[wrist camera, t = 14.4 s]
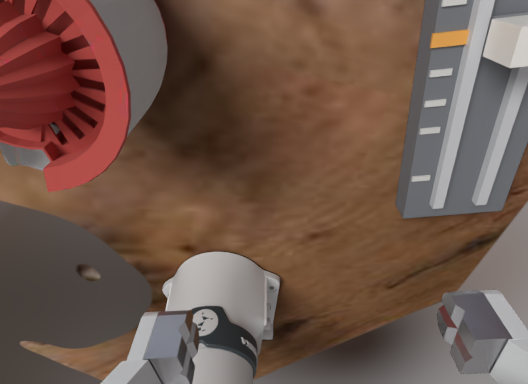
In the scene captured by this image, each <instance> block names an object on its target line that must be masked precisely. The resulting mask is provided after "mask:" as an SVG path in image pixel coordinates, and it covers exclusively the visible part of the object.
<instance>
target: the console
mask: <svg viewBox="0 0 528 384" xmlns="http://www.w3.org/2000/svg"><path fill="white" fill-rule="evenodd" d="M525 12H528V0H425V7H424V14H423V20H422V27H421V34H420V41H419V48H418V55H417V61H416V68H415V75H414V82H413V89H412V96H411V102H410V109H409V116H408V123H407V130H406V137H405V143H404V150H403V157H402V164H401V171H400V178H399V184H398V191H397V198H396V206H397V208H398V210H399V212H400V214H401V215H402V217H403V219H404V218H416V217H429V216H441V215H454V214H466V213H479V212H491V211H502V209H503V206H504V203H505V201H506V198H507V195H508V193H509V190H510V187H511V185H512V182H513V179H514V177H515V174H516V171H517V169H518V166H519V163H520V161H521V158H522V155H523V153H524V150H525V148H526V145H527V142H528V66H525V67H516V68H508V67H506V66H503V65H501V64H499V63H497V62H494V61H492V60H490V59H488V58H485V57H483V53H482V50H483V46H484V42H485V38H486V34H487V30H488V26H489V22H490V18H491V16H499V15H507V14H516V13H525Z"/></svg>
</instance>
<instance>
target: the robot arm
mask: <svg viewBox="0 0 528 384" xmlns="http://www.w3.org/2000/svg"><path fill="white" fill-rule="evenodd" d="M279 286H280V278H279V276H277V275H276V274H273V273H271V272H268V271H265V270H263V269H261V268H260V267H259V266H257V265H256V264H255V263H254V262H252V261H251V260H249V259H247V258H245V257H243V256H240V255H237V254H233V253H228V252H208V253H203V254H199V255H196V256H194V257H192V258H190V259H188V260H187V261H185V262H184V263H183V264H182V265H181V266H180V268H179V269H178V271H177V273H176V274H175V276H174V277H173V278H171V279H169V280H168V281H166V282H165V283H164V285H163V293H164V294H165V296H166V297H167V298H168V301H167V306H166V311H158V312H145V313H144V315H143V316H142V318H141V321H140V323H139V326H138V329H137V332H136V335H135V338H134V341H133V343H132V346H131V349H130V352H129V355H128V358H127V361H122V362H121V363H120V364H119V365H118V366H117V367H116V368H115V369H114V370H113V371H112V372H111V373H110V374H109V375H108V376H107V377H106V378H105V379H104V380H103V381H102V383H100V384H253V378H254V376H255V374H256V368H257V364H258V355H259V354H260V350H261V344H262V340H263V339H264V340H265V339H266V340H271V339H273V321H274V315H275V309H276V303H277V297H278V292H279ZM442 302H443V304H444V305H443V306H442V307H441V308H439V310H438V314H437V320H438V326H439V329H440V332H441V334H442V336H443V338H444V339H445V340H446V341H447V342H448V343H450V344H451V345H452V347H451V351H450V354H451V356H452V357H453V360H454V362H455V364H456V366H457V368H458V370H459V372H460V374H473V373H474V374H477V373H490V376H491V377H493V378H494V379H495V380H496V381H497V382H498V383H499V384H528V330H527V328H526V327H525V326H524V324H523V323H522V321H521V320H520V319H519V317H518V316H517V315H516V313H515V312H514V310H513V309H512V307H511V306H510V305H509V303H508V302H507V301H506V299H505V298H504V296H503V295H502V294H501V292H499V291H498V290H496V289H492V290H481V291H478V290H473V291H460V292H448V293H445V294H444V295H443V297H442Z"/></svg>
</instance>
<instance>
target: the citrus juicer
mask: <svg viewBox="0 0 528 384" xmlns="http://www.w3.org/2000/svg"><path fill="white" fill-rule="evenodd" d="M167 46H168V40H167V33H166V26H165V23H164V20H163V17H162V14H161V11H160V8H159V6H158V4H157V3H156V1H155V0H0V149H1V151H2V154H3V156H4V158H5V160H6V162H7V163H8V164H9V165H11V166H15V165H25V166H29V167H32V168H36V169H39V170H43V171H44V175H45V179H46V184H47V188H48V192H51V191H58V190H64V189H70V188H73V187H76V186H78V185H81V184H84V183H86V182H89V181H91V180H92V179H94V178H95V177H97V176H98V175H100V174H101V173H103V172H104V171H106V169H107V168H108V167H109V166H110V165H111V164H112V163H113V161H114V160H115V159H116V158H117V157H118V155H119V153H120V151H121V149H122V147H123V145H124V143H125V141H126V139H127V136H128V135H129V134H130V132H131V131H132V130H133V128H134V127H135V126H136V125H137V123H138V122H139V121H140V119H141V118H142V117H143V115H144V114H145V113H146V112H147V110H148V109H149V108H150V106H151V104H152V102H153V101H154V99H155V97H156V95H157V93H158V91H159V89H160V87H161V85H162V81H163V77H164V73H165V69H166V64H167Z"/></svg>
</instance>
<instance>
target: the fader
mask: <svg viewBox="0 0 528 384" xmlns="http://www.w3.org/2000/svg"><path fill="white" fill-rule="evenodd" d="M482 53H483V57H485V58H488V59H490V60H492V61H494V62H497V63H499V64H501V65H503V66H506V67H508V68H516V67H525V66H528V12H525V13H516V14H507V15H499V16H491V18H490V22H489V26H488V30H487V34H486V38H485V42H484V46H483V50H482Z"/></svg>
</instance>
